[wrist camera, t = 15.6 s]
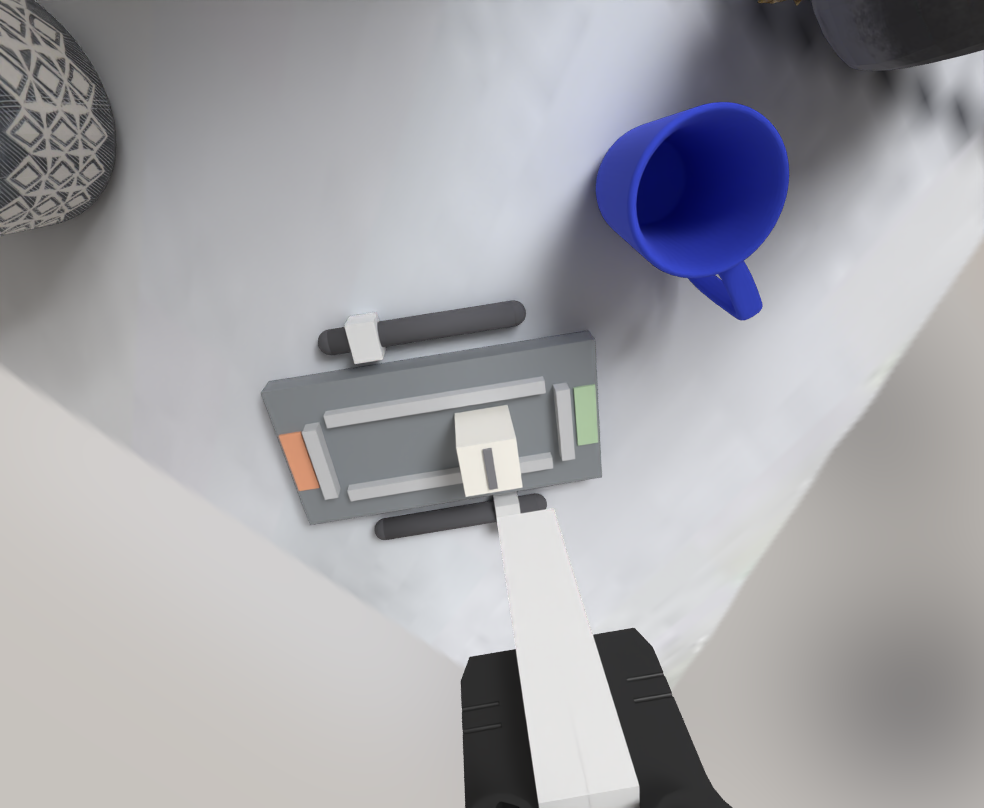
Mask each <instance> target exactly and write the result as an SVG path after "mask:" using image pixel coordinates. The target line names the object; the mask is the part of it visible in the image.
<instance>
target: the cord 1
mask: <svg viewBox="0 0 984 808" xmlns="http://www.w3.org/2000/svg"><path fill="white" fill-rule="evenodd" d="M525 316H526V311H525V308H524V306H523V305H522V304H521V303H520V302H518V301H506V302H500V303H494V304H487V305H481V306H475V307H468V308H462V309H456V310H449V311H443V312H437V313H430V314H424V315H418V316H411V317H405V318H399V319H392V320H386V321H379V317H378V313H377V312H373V313H366V314H360V315H354V316H349V318H348V320H347V321H346V323H345V325H344V327H342V328H335V329H329V330H326V331H324V332H322V333H321V334H320V336H319V338H318V346H319V348H320V349H321V351H322V352H324V353H325V354H328V355H336V354H343V353H349V352H352V356H353V360H354V363H355V364H358V363H364V362H371V361H377V360H383V358H384V354H385V351H386V347H387V346H393V345H399V344H406V343H412V342H418V341H425V340H431V339H437V338H443V337H450V336H456V335H462V334H469V333H475V332H481V331H487V330H494V329H500V328H506V327H513V326H517V325H519V324H521V323H522V322H523V321H524V319H525Z"/></svg>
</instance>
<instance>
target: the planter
mask: <svg viewBox="0 0 984 808" xmlns="http://www.w3.org/2000/svg"><path fill="white" fill-rule="evenodd" d="M115 152H116V135H115V126H114V120H113V115H112V111H111V108H110V104H109V101H108V98H107V95H106V93H105V90H104V88H103V85H102V83H101V81H100V79H99V77H98V75H97V73H96V71H95V70H94V68H93V66H92V64H91V63H90V61H89V60H88V58H87V56H86V55H85V54H84V52H83V51H82V49H81V48H80V47H79V45H78V44H77V43H76V41H75V40H74V39H73V38H72V36H71V35H70V34H69V33H68V32H67V31H66V30H65V29H64V27H63V26H62V25H61V24H60V23H59V22H58V21H57V20H56V19H55V18H54V17H53V16H52V15H50V14H49V13H48V12H47V11H46V10H45V9H44V8H42V7H41V6H40V5H39V4H37V3H36V2H35V1H34V0H0V236H2V235H7V234H11V233H16V232H21V231H25V230H30V229H35V228H39V227H44V226H49V225H53V224H57V223H61V222H64V221H67V220H69V219H71V218H73V217H75V216H77V215H79V214H80V213H82V212H83V211H85V210H86V209H87V208H89V207H90V206H91V205H92V204H93V203H94V202H95V201H96V200H97V199H98V197H99V196H100V195H101V193H102V192H103V190H104V188H105V187H106V185H107V183H108V181H109V178H110V176H111V173H112V169H113V165H114V160H115Z"/></svg>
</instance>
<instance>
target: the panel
mask: <svg viewBox="0 0 984 808" xmlns="http://www.w3.org/2000/svg"><path fill="white" fill-rule="evenodd" d="M261 395H262V397H263V400H264V403H265V405H266V408H267V411H268V414H269V416H270V419H271V422H272V424H273V427H274V430H275V432H276V435H277V438H278V440H279V443H280V446H281V448H282V451H283V454H284V456H285V459H286V462H287V464H288V467H289V470H290V473H291V475H292V478H293V481H294V483H295V486H296V489H297V491H298V494H299V497H300V499H301V502H302V505H303V507H304V510H305V513H306V515H307V518H308V521H309V523H310V525H314V524H320V523H326V522H332V521H338V520H344V519H350V518H357V517H363V516H369V515H375V514H381V513H387V512H393V511H399V510H405V509H411V508H417V507H424V506H430V505H436V504H442V503H448V502H454V501H460V500H466V499H472V498H478V497H484V496H491V495H497V494H503V493H509V492H515V491H521V490H527V489H533V488H539V487H545V486H551V485H558V484H564V483H570V482H576V481H582V480H588V479H594V478H600V477H602V469H601V449H600V429H599V409H598V389H597V369H596V349H595V339H594V338H593V336H592V335H591V334H590V332H589V331H582V332H576V333H570V334H563V335H557V336H551V337H544V338H538V339H532V340H526V341H519V342H513V343H507V344H501V345H494V346H488V347H482V348H475V349H469V350H463V351H457V352H450V353H444V354H438V355H432V356H425V357H419V358H413V359H407V360H400V361H394V362H388V363H381V364H375V365H369V366H363V367H356V368H350V369H344V370H338V371H331V372H325V373H319V374H312V375H306V376H300V377H294V378H287V379H281V380H275V381H269V382H268V384H267V385H266V386H265V388H264V389H263V391H262V392H261ZM503 405H508V408H509V412H510V416H511V420H512V424H513V428H514V432H515V436H516V441H517V449H518V456H519V464H520V471H521V479H522V486H523V488H517V489H511V490H505V491H499V492H493V493H487V494H480V495H474V496H468V497H466V495H465V490H464V485H463V480H462V475H461V470H460V465H459V460H458V455H457V450H456V434H455V414H454V413H460V412H466V411H472V410H478V409H484V408H490V407H497V406H503Z"/></svg>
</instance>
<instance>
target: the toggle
mask: <svg viewBox="0 0 984 808" xmlns="http://www.w3.org/2000/svg"><path fill="white" fill-rule="evenodd" d="M454 414H455V434H456V450H457V455H458V460H459V465H460V470H461V475H462V480H463V485H464V490H465V495H466V497H468V496H474V495H480V494H487V493H493V492H499V491H505V490H511V489H517V488H523V486H522V479H521V471H520V464H519V456H518V449H517V441H516V436H515V432H514V428H513V424H512V420H511V416H510V412H509V408H508V405H503V406H497V407H490V408H484V409H478V410H472V411H466V412H460V413H454Z"/></svg>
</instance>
